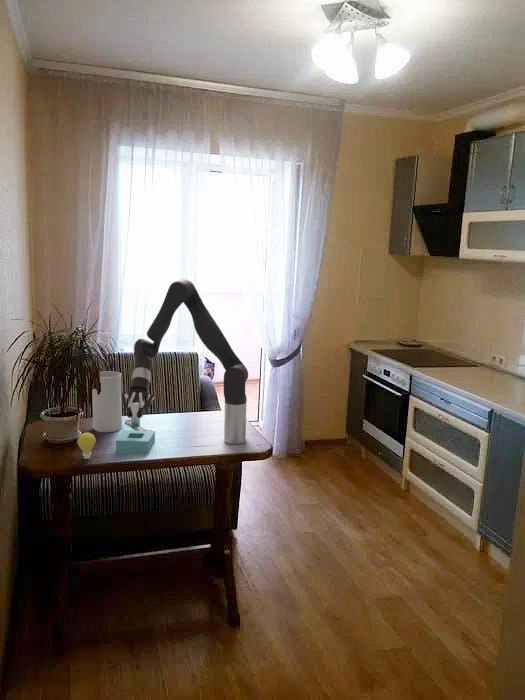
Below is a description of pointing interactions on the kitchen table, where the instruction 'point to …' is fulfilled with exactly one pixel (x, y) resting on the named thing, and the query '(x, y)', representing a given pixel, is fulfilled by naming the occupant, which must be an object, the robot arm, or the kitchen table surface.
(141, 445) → the socket block
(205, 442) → the kitchen table surface
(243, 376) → the robot arm
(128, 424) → the adjustable wrench
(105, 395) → the cylinder vase
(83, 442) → the light bulb
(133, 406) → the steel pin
